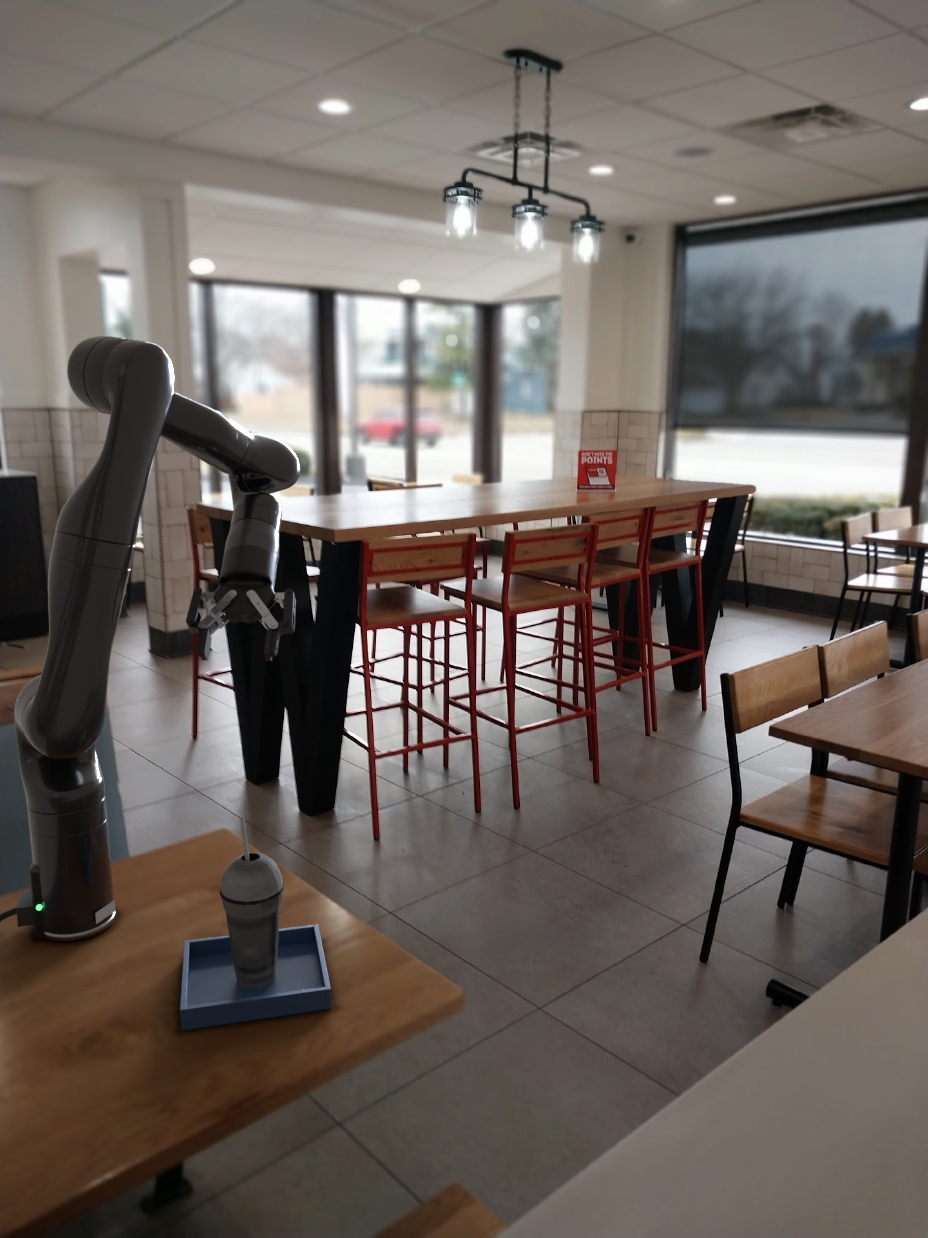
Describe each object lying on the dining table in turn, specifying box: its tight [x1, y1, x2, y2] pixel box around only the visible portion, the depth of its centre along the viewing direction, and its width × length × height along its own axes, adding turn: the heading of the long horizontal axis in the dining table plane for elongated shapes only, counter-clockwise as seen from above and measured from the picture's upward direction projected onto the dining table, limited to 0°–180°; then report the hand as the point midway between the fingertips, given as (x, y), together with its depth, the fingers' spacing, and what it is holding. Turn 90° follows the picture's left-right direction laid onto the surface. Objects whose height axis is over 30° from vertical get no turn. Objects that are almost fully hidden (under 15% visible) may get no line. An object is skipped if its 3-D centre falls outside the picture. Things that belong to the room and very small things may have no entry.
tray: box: [179, 923, 332, 1031], centre depth 111 cm, size 16×14×2 cm
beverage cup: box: [219, 815, 285, 990], centre depth 109 cm, size 7×7×20 cm
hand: (235, 657), depth 125 cm, fingers open, 8 cm apart
